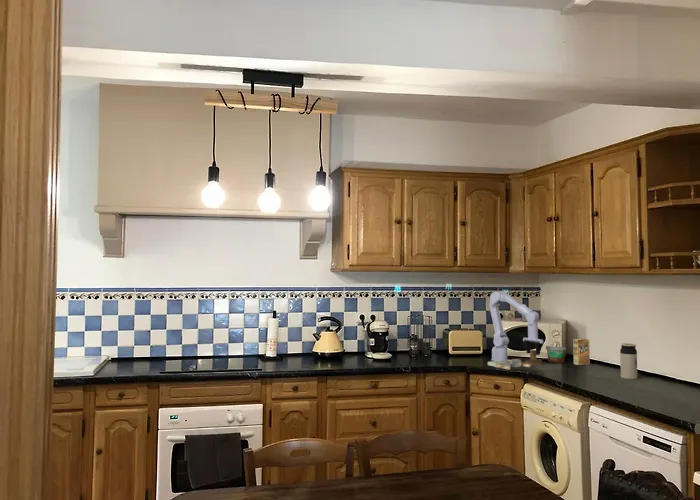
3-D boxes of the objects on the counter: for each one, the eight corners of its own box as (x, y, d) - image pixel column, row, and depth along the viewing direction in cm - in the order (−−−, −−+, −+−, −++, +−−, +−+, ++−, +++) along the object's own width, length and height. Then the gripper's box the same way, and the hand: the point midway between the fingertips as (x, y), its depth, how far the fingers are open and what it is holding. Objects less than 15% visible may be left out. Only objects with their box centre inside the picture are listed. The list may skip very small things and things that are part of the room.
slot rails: (495, 366, 336) (495, 364, 336) (517, 364, 344) (516, 361, 344) (509, 369, 326) (509, 367, 326) (530, 367, 334) (530, 364, 334)
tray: (487, 365, 342) (487, 361, 342) (508, 362, 350) (508, 359, 350) (495, 366, 336) (495, 363, 336) (517, 364, 344) (516, 361, 344)
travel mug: (617, 377, 300) (617, 344, 301) (625, 376, 305) (624, 342, 306) (632, 380, 294) (632, 345, 294) (640, 378, 299) (639, 344, 299)
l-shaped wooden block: (524, 365, 340) (524, 350, 341) (538, 364, 346) (538, 349, 346) (527, 366, 338) (527, 351, 338) (542, 364, 344) (541, 349, 344)
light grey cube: (500, 366, 336) (500, 360, 336) (505, 366, 338) (505, 359, 338) (505, 367, 333) (505, 361, 333) (510, 367, 335) (510, 360, 335)
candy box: (578, 365, 340) (577, 339, 340) (573, 364, 344) (572, 339, 344) (590, 364, 342) (589, 339, 343) (585, 363, 346) (584, 338, 347)
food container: (544, 362, 351) (544, 346, 351) (546, 360, 356) (545, 345, 357) (565, 363, 345) (565, 347, 346) (566, 362, 351) (566, 346, 351)
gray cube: (511, 366, 338) (511, 359, 338) (516, 365, 340) (516, 359, 340) (516, 367, 335) (516, 360, 335) (521, 366, 337) (521, 359, 337)
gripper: (519, 330, 347) (519, 353, 347) (537, 333, 334) (537, 356, 334) (527, 330, 350) (528, 352, 350) (545, 332, 338) (546, 355, 337)
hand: (533, 354), depth 342 cm, fingers open, 7 cm apart
